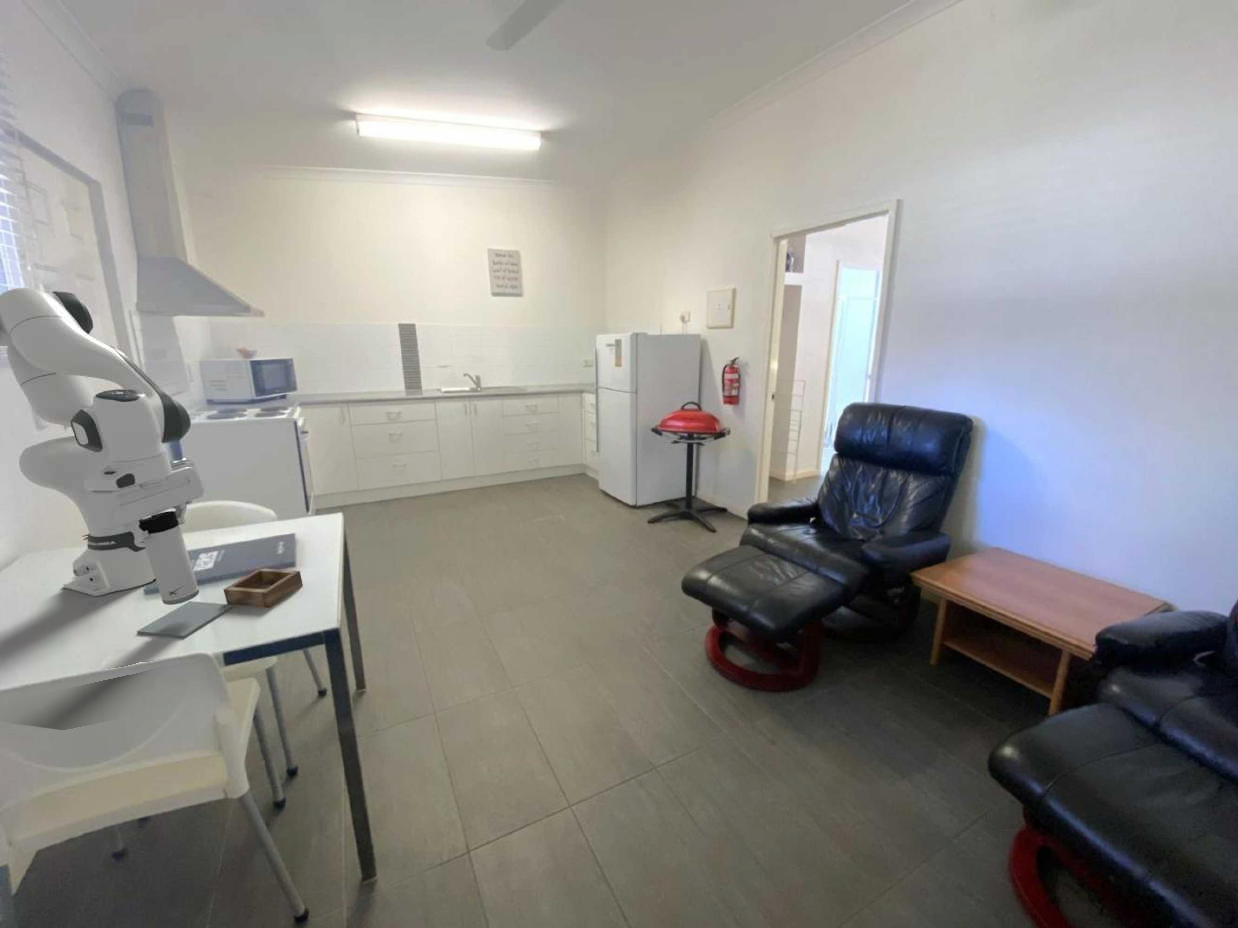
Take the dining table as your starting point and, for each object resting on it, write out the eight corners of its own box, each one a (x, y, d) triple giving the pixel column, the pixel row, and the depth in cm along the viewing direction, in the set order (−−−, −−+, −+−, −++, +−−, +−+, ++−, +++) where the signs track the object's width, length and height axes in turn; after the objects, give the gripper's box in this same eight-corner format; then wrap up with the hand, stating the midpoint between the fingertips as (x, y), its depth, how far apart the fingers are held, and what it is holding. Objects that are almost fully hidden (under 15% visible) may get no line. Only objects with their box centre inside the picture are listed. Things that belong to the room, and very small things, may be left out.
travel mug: (179, 606, 110) (152, 520, 104) (155, 604, 111) (127, 518, 105) (207, 591, 116) (183, 508, 110) (184, 589, 117) (159, 507, 111)
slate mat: (137, 633, 110) (136, 631, 110) (190, 603, 122) (190, 601, 121) (184, 637, 108) (183, 635, 108) (234, 606, 120) (233, 604, 119)
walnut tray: (227, 604, 121) (223, 589, 120) (263, 582, 131) (259, 568, 129) (269, 607, 119) (265, 592, 118) (302, 585, 129) (299, 570, 128)
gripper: (179, 455, 115) (195, 512, 119) (72, 484, 96) (96, 551, 100) (203, 456, 114) (218, 513, 118) (100, 485, 95) (122, 553, 99)
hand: (161, 531), depth 109 cm, fingers closed on travel mug, 6 cm apart
